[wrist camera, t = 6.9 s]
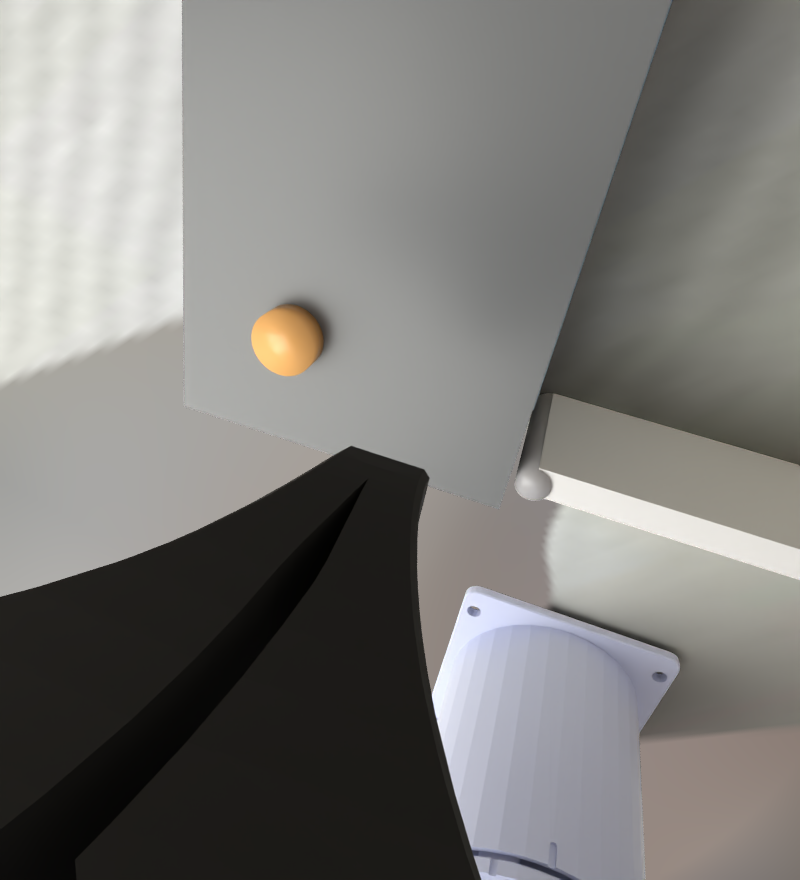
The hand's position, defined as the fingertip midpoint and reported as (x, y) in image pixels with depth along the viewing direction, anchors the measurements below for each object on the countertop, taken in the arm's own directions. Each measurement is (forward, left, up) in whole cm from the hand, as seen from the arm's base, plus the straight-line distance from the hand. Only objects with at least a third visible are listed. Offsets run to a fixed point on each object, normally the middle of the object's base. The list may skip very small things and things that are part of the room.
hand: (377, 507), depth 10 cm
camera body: (+4, +2, -10) cm, 11 cm away
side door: (-2, -8, -10) cm, 13 cm away
